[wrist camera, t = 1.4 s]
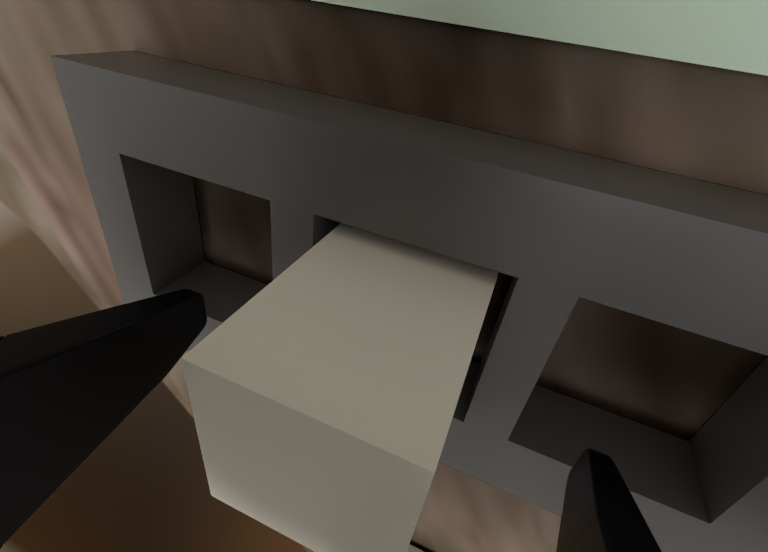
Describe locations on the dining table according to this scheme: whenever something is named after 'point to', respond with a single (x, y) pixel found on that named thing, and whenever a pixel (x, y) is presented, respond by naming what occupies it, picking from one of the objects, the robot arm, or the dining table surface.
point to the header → (461, 241)
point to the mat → (615, 25)
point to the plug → (339, 389)
